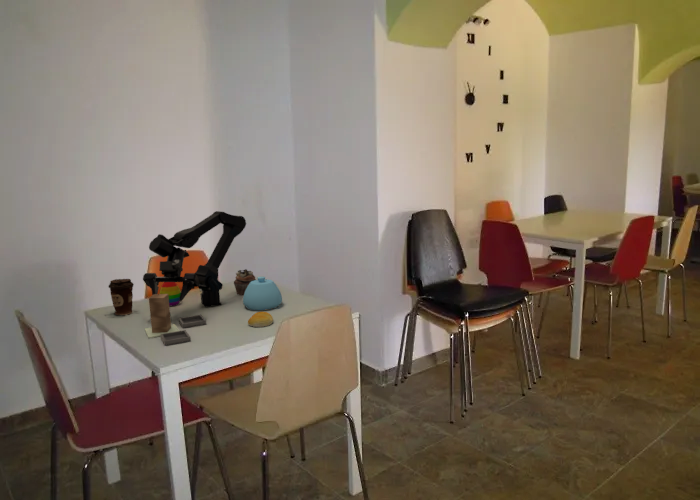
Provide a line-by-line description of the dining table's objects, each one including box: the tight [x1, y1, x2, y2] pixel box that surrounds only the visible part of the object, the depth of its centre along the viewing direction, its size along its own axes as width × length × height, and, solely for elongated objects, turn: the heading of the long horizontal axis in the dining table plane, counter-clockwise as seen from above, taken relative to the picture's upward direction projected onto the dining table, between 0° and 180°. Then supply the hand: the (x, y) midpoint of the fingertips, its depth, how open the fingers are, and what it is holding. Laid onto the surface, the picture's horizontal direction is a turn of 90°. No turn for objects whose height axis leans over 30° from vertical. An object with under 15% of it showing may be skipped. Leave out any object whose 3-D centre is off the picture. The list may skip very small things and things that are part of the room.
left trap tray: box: [160, 329, 192, 347], centre depth 182 cm, size 8×8×2 cm
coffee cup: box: [107, 278, 135, 316], centre depth 213 cm, size 9×8×13 cm
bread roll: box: [247, 311, 274, 328], centre depth 196 cm, size 8×9×4 cm
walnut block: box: [148, 293, 172, 333], centre depth 190 cm, size 5×5×12 cm
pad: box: [144, 323, 180, 339], centre depth 191 cm, size 10×10×1 cm
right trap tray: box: [177, 314, 207, 329], centre depth 199 cm, size 8×8×2 cm
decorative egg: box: [159, 282, 181, 307], centre depth 224 cm, size 8×8×10 cm
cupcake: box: [233, 268, 257, 296], centre depth 238 cm, size 10×10×10 cm
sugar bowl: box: [242, 276, 283, 311], centre depth 218 cm, size 15×15×12 cm
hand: (167, 301), depth 198 cm, fingers open, 9 cm apart
